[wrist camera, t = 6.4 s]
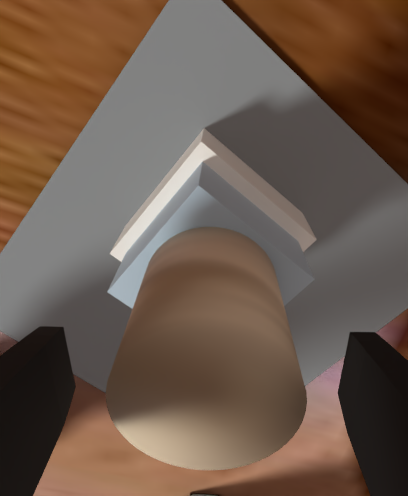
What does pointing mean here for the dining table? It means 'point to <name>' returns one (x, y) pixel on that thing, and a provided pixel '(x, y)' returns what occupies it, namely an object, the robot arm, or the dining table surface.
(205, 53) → the slate mat
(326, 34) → the dining table surface
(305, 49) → the dining table surface
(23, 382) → the robot arm
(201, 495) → the coffee box
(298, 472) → the dining table surface
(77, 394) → the dining table surface
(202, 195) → the top block
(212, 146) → the base block
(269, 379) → the beech cylinder
